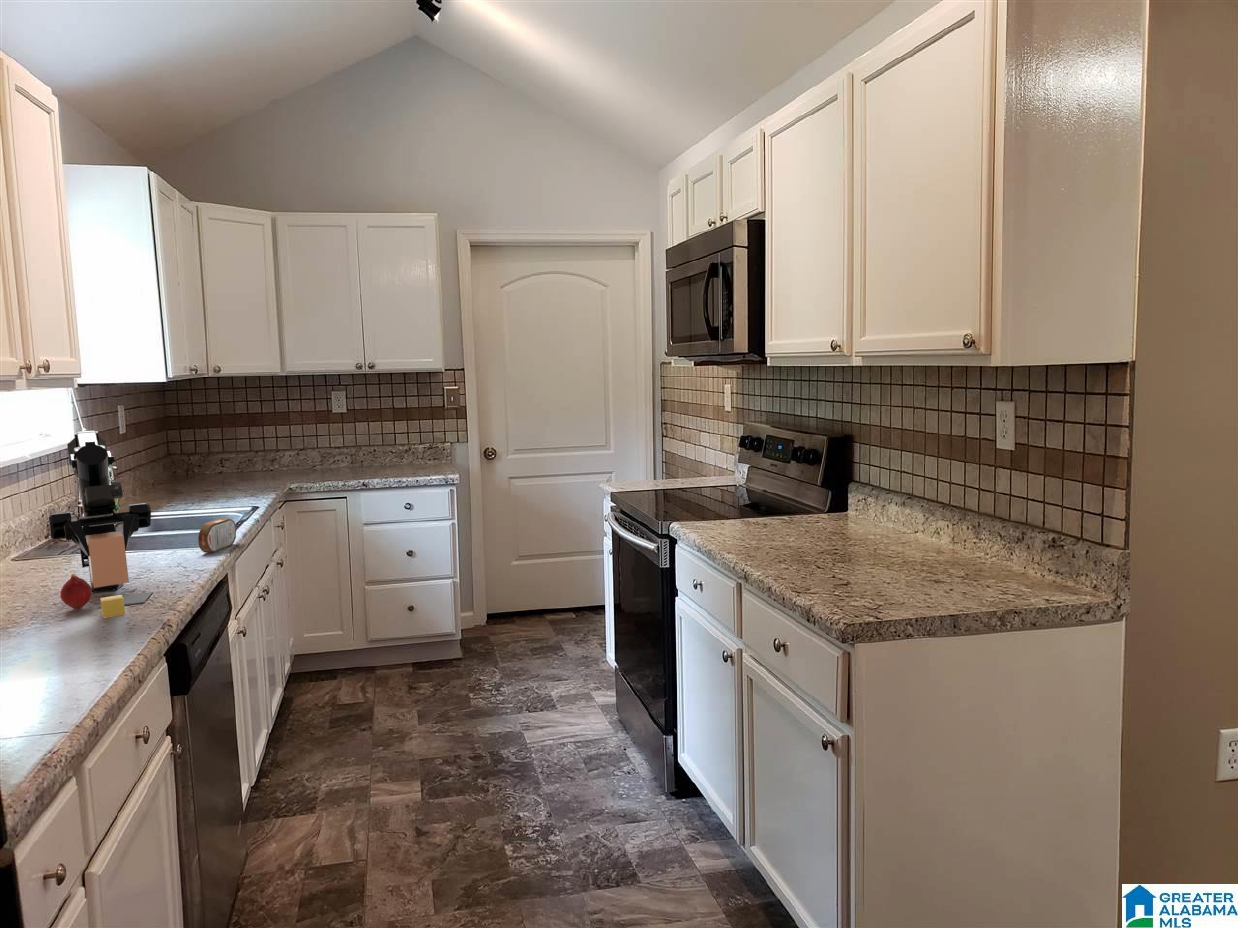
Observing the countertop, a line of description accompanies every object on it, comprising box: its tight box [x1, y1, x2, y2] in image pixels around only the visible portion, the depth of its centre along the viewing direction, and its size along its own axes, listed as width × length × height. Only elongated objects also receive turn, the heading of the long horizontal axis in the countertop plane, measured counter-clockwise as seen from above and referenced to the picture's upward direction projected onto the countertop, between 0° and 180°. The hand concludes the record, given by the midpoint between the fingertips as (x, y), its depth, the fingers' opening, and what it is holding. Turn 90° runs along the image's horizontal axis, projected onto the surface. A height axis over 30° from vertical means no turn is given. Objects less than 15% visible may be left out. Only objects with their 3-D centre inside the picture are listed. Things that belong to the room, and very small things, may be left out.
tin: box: [197, 517, 237, 554], centre depth 252 cm, size 15×3×8 cm, turn 172°
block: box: [99, 594, 126, 619], centre depth 191 cm, size 4×4×4 cm
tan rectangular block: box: [86, 530, 130, 588], centre depth 190 cm, size 6×6×10 cm
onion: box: [59, 573, 93, 611], centre depth 195 cm, size 6×6×8 cm
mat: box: [97, 591, 154, 609], centre depth 202 cm, size 9×9×1 cm
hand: (107, 552), depth 188 cm, fingers closed on tan rectangular block, 6 cm apart
